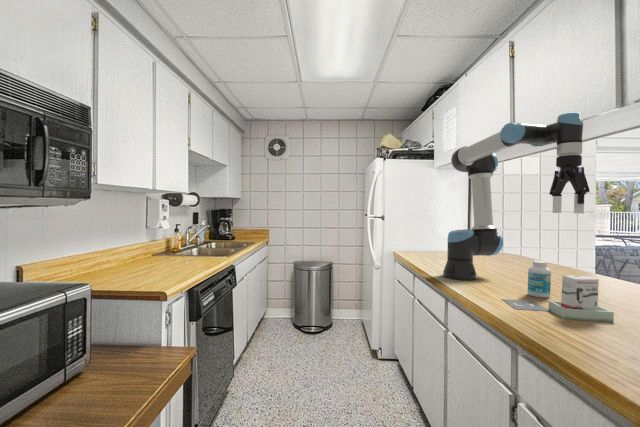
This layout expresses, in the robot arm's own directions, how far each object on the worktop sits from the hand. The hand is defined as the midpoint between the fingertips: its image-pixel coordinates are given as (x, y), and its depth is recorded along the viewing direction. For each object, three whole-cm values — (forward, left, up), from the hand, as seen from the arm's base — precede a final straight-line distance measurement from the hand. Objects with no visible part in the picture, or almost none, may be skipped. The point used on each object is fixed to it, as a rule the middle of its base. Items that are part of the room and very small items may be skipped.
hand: (567, 213), depth 120 cm
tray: (+18, -5, -33) cm, 37 cm away
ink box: (+17, -5, -32) cm, 37 cm away
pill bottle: (-6, -6, -33) cm, 34 cm away
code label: (+9, -18, -33) cm, 38 cm away
